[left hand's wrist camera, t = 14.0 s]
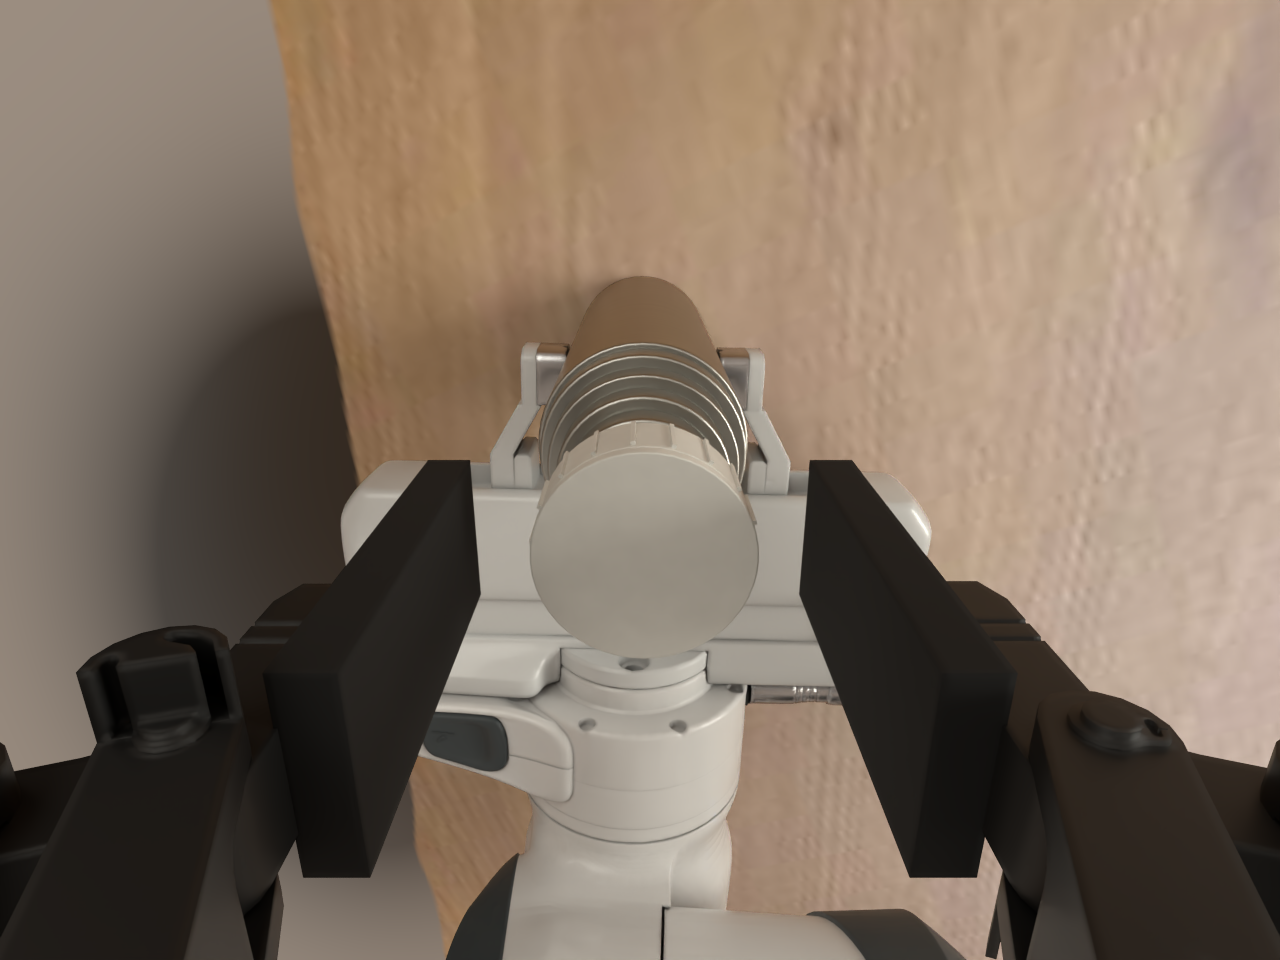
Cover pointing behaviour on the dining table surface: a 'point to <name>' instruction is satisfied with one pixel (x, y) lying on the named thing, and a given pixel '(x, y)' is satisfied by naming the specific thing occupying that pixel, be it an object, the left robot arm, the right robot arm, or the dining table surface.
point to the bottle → (642, 374)
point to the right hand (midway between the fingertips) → (641, 347)
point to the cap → (644, 542)
